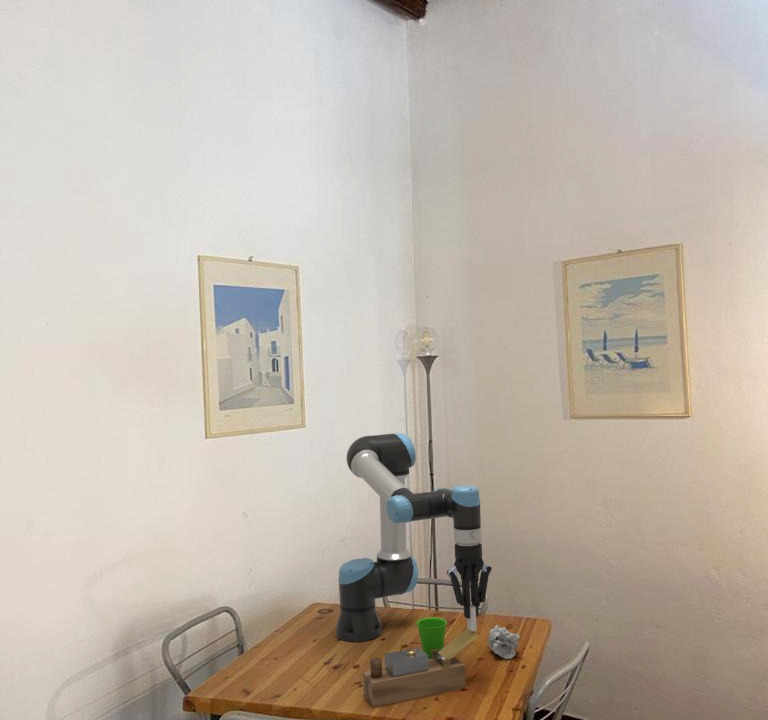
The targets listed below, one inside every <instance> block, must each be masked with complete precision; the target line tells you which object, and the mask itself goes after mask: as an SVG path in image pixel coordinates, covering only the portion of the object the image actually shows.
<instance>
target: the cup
mask: <svg viewBox="0 0 768 720" xmlns="http://www.w3.org/2000/svg"><path fill="white" fill-rule="evenodd" d="M447 625H448V622H447V620H446V619H444V618H442V617H431V616H430V617H425V618H421V619H419V620H417V622H416V626H417V628H418V632H419V639H420V643H421V648H422V649H421V650H423V651H424V652H425V653H426V654H427V655H428V659H432V652H431V650H437V649H438V650H439V651H440V650H441V649H442V648H444V647H445V645H444V644H445V637H446V626H447Z"/></svg>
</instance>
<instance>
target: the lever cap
mask: <svg viewBox="0 0 768 720" xmlns="http://www.w3.org/2000/svg"><path fill="white" fill-rule="evenodd" d="M384 668H385V669H386V670H387V671H388V673H389V674H390V675H391V676H392V677H398V676H403V675H408V674H413V673H418V672H423V671H429V668H428V655H427V654H426V653H425V652H424V651H423V649H421V647H414V648H410V649H403V650H398V651H397V650H396V651H393V652H389V653H387V652H386V653H384Z"/></svg>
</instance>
